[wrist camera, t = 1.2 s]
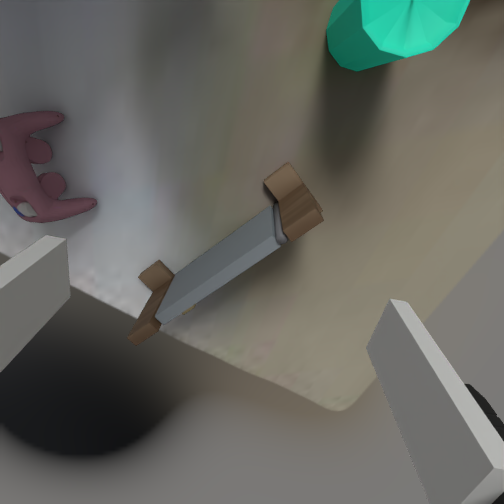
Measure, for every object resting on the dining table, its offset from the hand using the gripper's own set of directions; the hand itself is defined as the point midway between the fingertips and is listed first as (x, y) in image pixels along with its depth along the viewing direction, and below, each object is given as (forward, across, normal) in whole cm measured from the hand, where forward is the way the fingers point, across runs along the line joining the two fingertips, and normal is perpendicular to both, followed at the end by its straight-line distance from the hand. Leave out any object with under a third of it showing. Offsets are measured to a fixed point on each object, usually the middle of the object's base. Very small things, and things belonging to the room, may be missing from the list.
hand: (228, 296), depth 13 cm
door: (+21, 0, -8) cm, 22 cm away
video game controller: (+22, -19, -3) cm, 29 cm away
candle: (+22, +7, +14) cm, 27 cm away
